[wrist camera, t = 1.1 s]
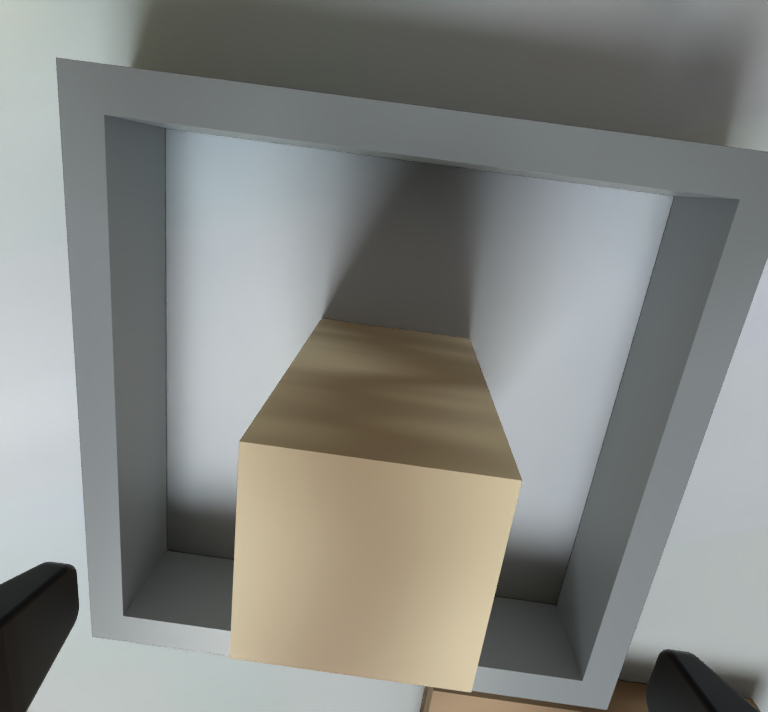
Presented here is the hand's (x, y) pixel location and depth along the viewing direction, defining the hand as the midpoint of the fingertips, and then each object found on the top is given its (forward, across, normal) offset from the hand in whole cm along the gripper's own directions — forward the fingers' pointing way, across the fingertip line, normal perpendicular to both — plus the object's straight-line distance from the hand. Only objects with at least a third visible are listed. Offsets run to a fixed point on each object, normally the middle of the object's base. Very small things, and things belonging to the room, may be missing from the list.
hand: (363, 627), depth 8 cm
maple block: (+9, 0, 0) cm, 9 cm away
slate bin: (+9, 0, 0) cm, 9 cm away
